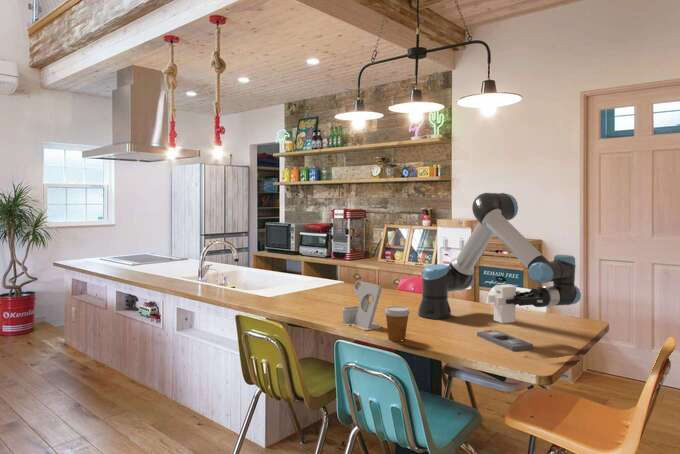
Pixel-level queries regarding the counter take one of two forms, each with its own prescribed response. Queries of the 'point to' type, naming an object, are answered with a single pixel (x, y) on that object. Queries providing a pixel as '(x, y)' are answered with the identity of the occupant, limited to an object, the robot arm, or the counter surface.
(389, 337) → the disposable coffee cup
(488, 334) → the power strip
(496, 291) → the block
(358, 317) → the phone holder
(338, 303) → the counter surface
